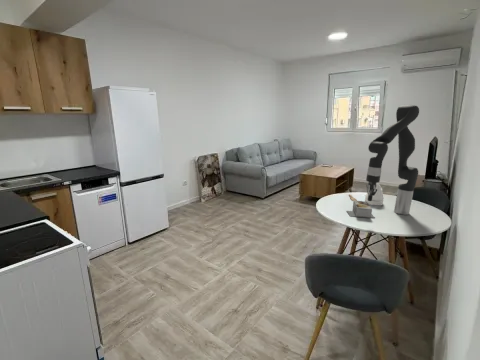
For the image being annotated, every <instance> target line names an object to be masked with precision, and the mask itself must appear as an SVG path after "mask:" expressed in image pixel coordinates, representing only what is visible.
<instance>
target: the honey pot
mask: <svg viewBox="0 0 480 360" xmlns="http://www.w3.org/2000/svg"><path fill="white" fill-rule="evenodd" d="M376 189H377V192H376V193H375V195H373V197H372V201H368V193H367V192H366V194H365V199H364V202H367V203H368V204H369V205H372V206H383V205H382V204H384V197H385V196H384V193H383V188H382V186H381V185H380V182H379V183H376Z"/></svg>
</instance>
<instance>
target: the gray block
mask: <svg viewBox="0 0 480 360" xmlns="http://www.w3.org/2000/svg"><path fill="white" fill-rule="evenodd" d="M346 213H347V214H348V216H349V217H354V218H360V217H359V216H356V214H355V212H354V210H346ZM364 218H368V219H375V218H376V217H375V216H374V214H372V213H371V218H369V217H364Z"/></svg>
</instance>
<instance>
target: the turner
mask: <svg viewBox="0 0 480 360" xmlns="http://www.w3.org/2000/svg"><path fill="white" fill-rule="evenodd" d="M348 197H349V199H350V200H351V202H354V201H358V200H357V198H356V197H354V196H353V195H352V194H348Z"/></svg>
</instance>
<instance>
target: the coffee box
mask: <svg viewBox="0 0 480 360" xmlns="http://www.w3.org/2000/svg"><path fill="white" fill-rule="evenodd" d="M352 202H353V203H352V204H353V205H352V211H354V212H355V214H356V216H359V217H358V218H365V217H369V218H368V219H372V218H371V214H372V212H373V209H372V207H371V206H370V204H368V203H367V202H365V200H364V201H362V200H357V201H352Z"/></svg>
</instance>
